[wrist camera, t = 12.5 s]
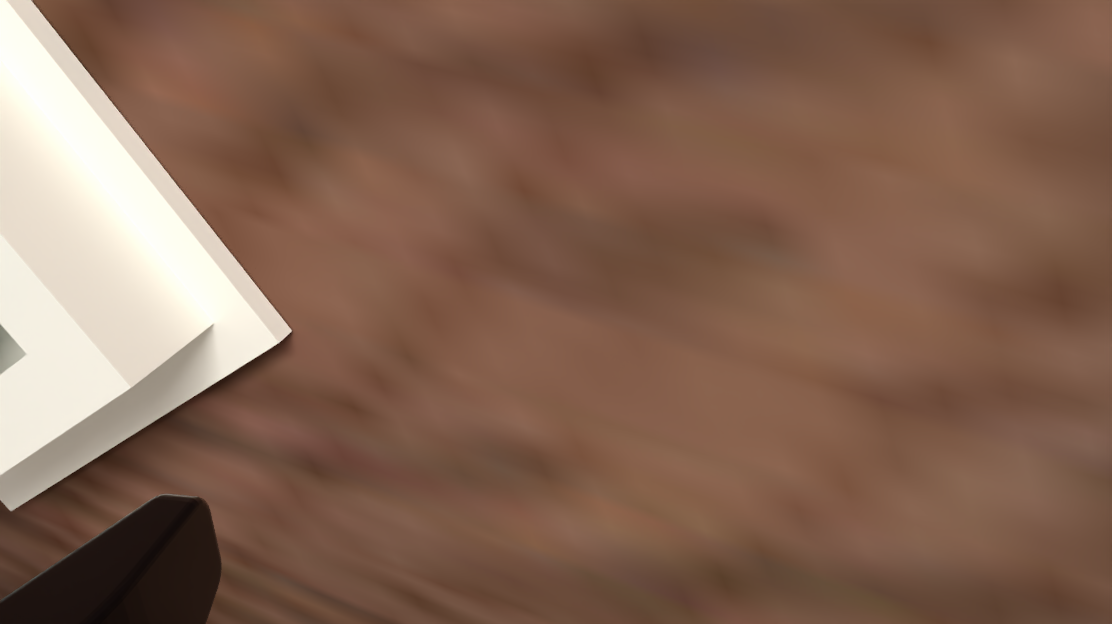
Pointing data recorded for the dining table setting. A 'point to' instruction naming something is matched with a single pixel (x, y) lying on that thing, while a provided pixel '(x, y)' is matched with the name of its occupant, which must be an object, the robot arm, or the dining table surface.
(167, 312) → the socket
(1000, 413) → the dining table surface
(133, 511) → the robot arm
